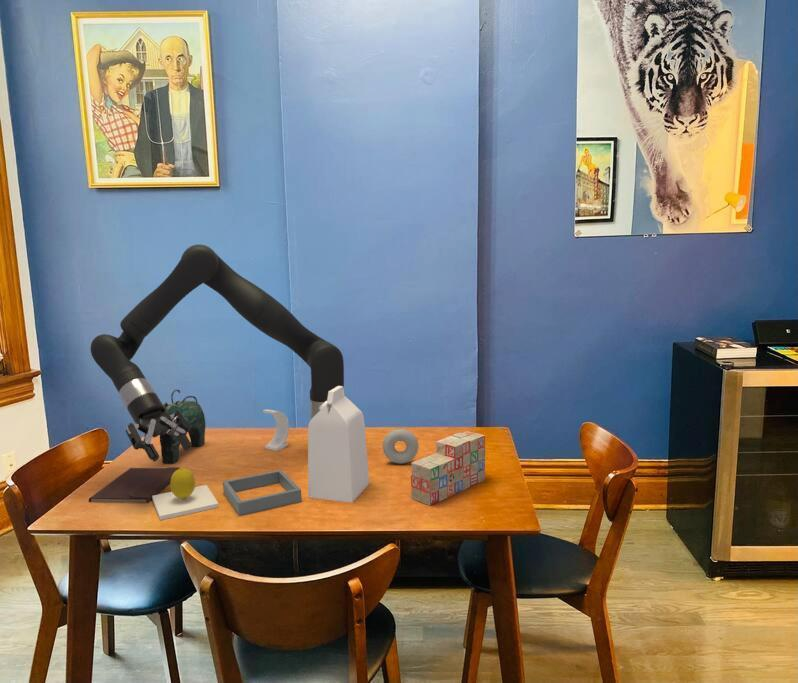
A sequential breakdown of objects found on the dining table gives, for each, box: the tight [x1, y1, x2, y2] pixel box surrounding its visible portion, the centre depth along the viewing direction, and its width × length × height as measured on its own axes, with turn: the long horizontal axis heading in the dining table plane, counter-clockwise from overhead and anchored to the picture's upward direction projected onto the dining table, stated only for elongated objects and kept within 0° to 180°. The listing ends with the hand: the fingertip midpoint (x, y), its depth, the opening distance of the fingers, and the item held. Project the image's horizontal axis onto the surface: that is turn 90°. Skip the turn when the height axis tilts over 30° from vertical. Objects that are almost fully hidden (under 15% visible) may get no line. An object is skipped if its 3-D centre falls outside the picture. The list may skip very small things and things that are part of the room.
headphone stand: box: [262, 409, 290, 452], centre depth 185 cm, size 5×6×12 cm
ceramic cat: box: [159, 389, 206, 465], centre depth 180 cm, size 20×6×20 cm, turn 166°
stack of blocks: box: [410, 430, 486, 506], centre depth 151 cm, size 21×6×12 cm, turn 136°
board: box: [151, 484, 220, 521], centre depth 146 cm, size 13×13×1 cm
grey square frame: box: [222, 469, 303, 517], centre depth 149 cm, size 15×15×3 cm
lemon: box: [169, 466, 196, 500], centre depth 146 cm, size 6×6×8 cm
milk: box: [307, 386, 370, 503], centre depth 151 cm, size 12×12×26 cm
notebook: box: [88, 466, 181, 504], centre depth 157 cm, size 15×20×2 cm
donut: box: [382, 428, 419, 465], centre depth 169 cm, size 10×4×10 cm, turn 88°
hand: (172, 454), depth 146 cm, fingers open, 8 cm apart
